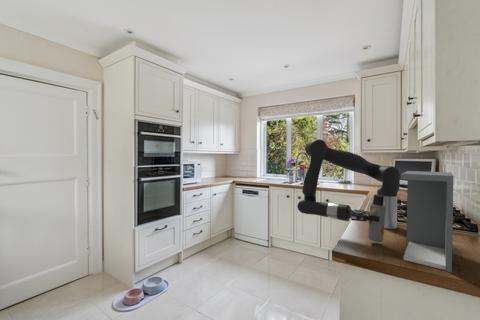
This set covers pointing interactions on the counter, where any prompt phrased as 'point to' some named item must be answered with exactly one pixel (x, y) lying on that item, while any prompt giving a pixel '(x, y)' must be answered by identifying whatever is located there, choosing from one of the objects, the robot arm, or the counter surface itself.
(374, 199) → the lotion bottle
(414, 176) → the open shelf
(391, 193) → the robot arm
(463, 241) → the counter surface
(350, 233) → the counter surface
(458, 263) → the counter surface
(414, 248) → the shelf mat
